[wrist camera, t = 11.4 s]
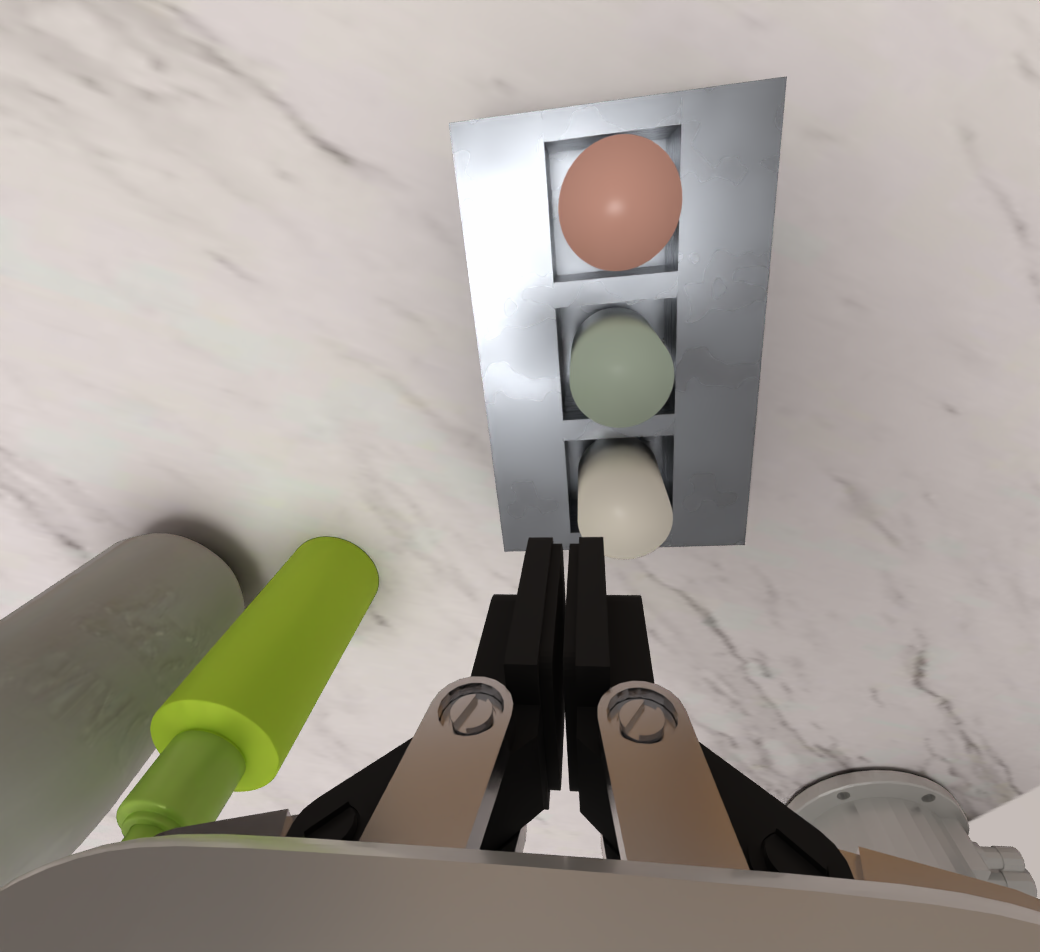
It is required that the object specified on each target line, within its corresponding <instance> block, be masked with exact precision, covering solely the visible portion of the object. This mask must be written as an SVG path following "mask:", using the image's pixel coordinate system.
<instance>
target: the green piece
mask: <svg viewBox="0 0 1040 952" xmlns="http://www.w3.org/2000/svg"><path fill="white" fill-rule="evenodd" d="M673 383H674V366H673V361H672V358H671V356H670V354H669V352H668V350H667V348H666V347H665V345H664V344H663V343H662V341H661V340H660V338H659V337H658V335H657V334H656V333H655V331H654V330H653V328H652V327H651V325H650V324H649V323H648V321H647V320H646V319H645V318H644V317H642V316H641V315H640V314H638V313H636V312H635V311H632V310H630V309H626V308H619V307H616V308H607V309H603V310H600V311H598V312H596V313H594V314H593V315H591V316H590V317H588V318H587V319H586V320H585V321H584V322H583V323H582V324H581V326H580V327H579V328H578V330H577V332H576V334H575V336H574V339H573V342H572V348H571V362H570V390H571V393H572V396H573V399H574V401H575V403H576V405H577V406H578V408H579V409H580V410H581V411H582V412H583V413H584V414H585V415H586V416H587V417H588V418H590V419H591V420H593V421H594V422H596V423H599V424H601V425H604V426H608V427H614V428H624V427H630V426H635V425H638V424H640V423H643V422H644V421H646V420H648V419H650V418H651V417H653V416H654V415H655V414H656V413H657V412H658V411H659V410H660V409H661V408H662V407H663V406H664V404H665V403H666V401H667V400H668V398H669V396H670V393H671V391H672V387H673Z"/></svg>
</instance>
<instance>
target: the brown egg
mask: <svg viewBox="0 0 1040 952" xmlns="http://www.w3.org/2000/svg"><path fill="white" fill-rule="evenodd" d="M681 209H682V186H681V180H680V177H679V173H678V171H677V169H676V166H675V164H674V163H673V161H672V159H671V158H670V156H669V155H668V154H667V153H666V152H665V151H664V150H663V149H662V148H661V147H660V146H659V145H658V144H656V143H654V142H653V141H651V140H649V139H647V138H644V137H641V136H638V135H632V134H618V135H613V136H609V137H606V138H603V139H601V140H599V141H597V142H595V143H593V144H592V145H590V146H589V147H588V148H586V149H585V150H584V151H583V152H582V153H581V154H580V155H579V156H578V157H577V158H576V160H575V161H574V162H573V163H572V165H571V167H570V168H569V170H568V172H567V174H566V176H565V178H564V181H563V183H562V186H561V190H560V195H559V203H558V214H559V222H560V226H561V230H562V232H563V235H564V238H565V239H566V241H567V243H568V245H569V246H570V248H571V249H572V250H573V252H574V253H575V254H576V255H577V256H578V257H579V258H581V259H582V260H583V261H584V262H586V263H588V264H589V265H591V266H593V267H596V268H598V269H602V270H607V271H623V270H629V269H632V268H636V267H638V266H640V265H642V264H644V263H646V262H648V261H649V260H651V259H652V258H653V257H654V256H656V255H657V254H658V253H659V252H660V251H661V250H662V249H663V248H664V247H665V245H666V244H667V243H668V241H669V240H670V238H671V237H672V235H673V233H674V231H675V229H676V227H677V224H678V221H679V218H680V214H681Z"/></svg>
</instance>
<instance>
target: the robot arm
mask: <svg viewBox="0 0 1040 952" xmlns="http://www.w3.org/2000/svg"><path fill="white" fill-rule="evenodd" d="M564 717H565V720H566V737H567V754H568V772H569V788H570V791H578V792H579V800H580V812H581V813H582V814H583V815H584V817H585V818H586V819H587V820H588V821H589V822H590V823H591V824H592V825H593V826H594V827H595V828H596V829H597V830H598V831H599V832H600V833H601V849H602V855H603V859H599V858H586V857H572V856H559V855H545V854H532V853H523V849H524V845H525V841H526V832H527V825H526V824H527V823H529V822H530V821H531V820H532V819H533V818H534V817H536V816H537V815H538V814H539V813H540V812H541V811H543V810H544V809H545V810H549V800H550V790H561V778H562V758H563V737H564ZM968 833H969V825H968V820H967V817H966V815H965V814H964V812H963V810H962V809H961V807H960V805H959V804H958V802H957V801H956V800H955V798H954V797H953V796H952V795H951V793H950V792H948V791H947V790H946V789H944V788H943V787H942V786H940V785H939V784H937V783H935V782H933V781H931V780H928V779H926V778H923V777H920V776H917V775H913V774H910V773H905V772H898V771H891V770H868V771H857V772H851V773H846V774H842V775H837V776H834V777H831V778H829V779H826V780H823V781H820V782H818V783H817V784H815V785H813V786H811V787H809V788H807V789H806V790H804V791H803V792H801V793H800V794H799V795H797V796H796V797H795V798H794V799H793V800H792V801H791V802H790V804H789V805H788V806H786V805H784V804H783V803H782V802H780V801H779V800H778V799H776V798H775V797H773V796H772V795H771V794H769V793H768V792H767V791H765V790H764V789H763V788H761V787H760V786H758V785H757V784H756V783H754V782H753V781H752V780H750V779H749V778H748V777H746V776H745V775H743V774H742V773H741V772H739V771H738V770H737V769H735V768H734V767H733V766H731V765H730V764H728V763H727V762H726V761H724V760H723V759H722V758H720V757H719V756H718V755H716V754H715V753H714V752H712V751H711V750H709V749H708V748H707V747H705V746H704V745H703V744H701V743H700V742H699V741H698V739H697V736H696V734H695V731H694V729H693V726H692V724H691V721H690V719H689V716H688V714H687V711H686V709H685V708H684V706H683V704H682V703H681V701H680V700H679V699H678V698H677V697H676V696H675V695H674V694H673V693H672V692H671V691H669V690H667V689H665V688H663V687H661V686H660V685H657V684H654V678H653V671H652V664H651V658H650V651H649V644H648V638H647V631H646V624H645V617H644V611H643V604H642V598H641V596H640V595H606V579H605V560H604V541H603V537H579V543H570V546H569V563H568V579H567V596H566V601H565V582H564V562H563V546H562V544H554V542H553V537H529V538H528V542H527V547H526V553H525V558H524V563H523V568H522V573H521V578H520V583H519V588H518V593H517V595H503V594H494V595H493V597H492V599H491V603H490V606H489V610H488V614H487V618H486V621H485V625H484V629H483V632H482V636H481V640H480V644H479V647H478V651H477V655H476V659H475V662H474V666H473V670H472V674H471V677H467V678H463V679H459V680H457V681H455V682H453V683H450V684H448V685H447V686H446V687H445V688H443V689H442V690H441V691H440V692H439V693H438V694H437V695H436V697H435V698H434V699H433V701H432V702H431V704H430V706H429V708H428V710H427V712H426V714H425V716H424V718H423V719H422V721H421V723H420V725H419V727H418V729H417V731H416V733H415V735H414V737H413V738H411V739H409V740H408V741H406V742H405V743H403V744H402V745H400V746H398V747H397V748H395V749H394V750H392V751H391V752H389V753H388V754H386V755H384V756H383V757H381V758H380V759H378V760H377V761H375V762H373V763H372V764H370V765H369V766H367V767H366V768H364V769H362V770H361V771H359V772H358V773H356V774H355V775H353V776H351V777H350V778H348V779H347V780H345V781H344V782H342V783H341V784H339V785H337V786H336V787H334V788H333V789H331V790H330V791H328V792H326V793H325V794H323V795H322V796H320V797H319V798H317V799H316V800H314V801H313V802H312V803H311V804H309V805H308V806H307V807H306V808H304V809H303V810H302V812H301V813H300V814H298V815H292V816H291V815H290V812H289V809H284V810H278V811H273V812H267V813H261V814H255V815H249V816H243V817H237V818H231V819H225V820H220V821H214V822H208V823H202V824H196V825H190V826H184V827H178V828H174V829H171V830H168V831H165V832H162V833H159V834H157V835H155V836H154V837H145V838H138V839H132V840H127V841H122V842H117V843H111V844H106V845H102V846H99V847H96V848H92V849H89V850H86V851H83V852H79V853H76V854H73V855H70V856H66V857H63V858H60V859H57V860H55V861H52V862H50V863H47V864H45V865H43V866H40V867H38V868H36V869H34V870H31V871H29V872H27V873H25V874H23V875H21V876H19V877H17V878H15V879H13V880H12V881H10V882H9V883H7V884H5V885H4V886H2V887H0V952H1040V899H1038V898H1036V897H1037V889H1036V885H1035V882H1034V880H1033V878H1032V877H1031V875H1030V873H1029V872H1028V871H1027V870H1026V869H1025V864H1024V860H1023V858H1022V856H1021V854H1020V852H1019V851H1018V850H1017V849H1016V848H1014V847H1005V846H991V847H980V846H979V845H978V844H977V843H976V842H972V841H971V840H970V838H969V836H968Z"/></svg>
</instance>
